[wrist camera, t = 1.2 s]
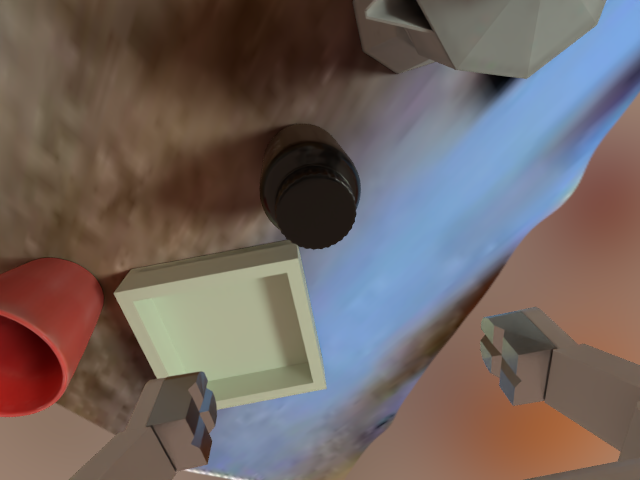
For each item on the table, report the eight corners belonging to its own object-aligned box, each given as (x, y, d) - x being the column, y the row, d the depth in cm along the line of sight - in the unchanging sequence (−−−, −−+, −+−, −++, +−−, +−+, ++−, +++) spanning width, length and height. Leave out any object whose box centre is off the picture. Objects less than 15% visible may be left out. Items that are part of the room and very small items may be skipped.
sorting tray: (131, 269, 34) (113, 293, 31) (296, 238, 34) (297, 258, 31) (186, 386, 41) (176, 417, 38) (322, 360, 42) (326, 388, 38)
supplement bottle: (287, 212, 33) (290, 283, 22) (248, 146, 30) (230, 190, 20) (355, 178, 32) (390, 234, 22) (321, 106, 29) (343, 130, 19)
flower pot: (-10, 315, 35) (-107, 397, 26) (9, 222, 31) (-96, 283, 23) (103, 348, 38) (50, 433, 29) (134, 267, 34) (83, 336, 26)
